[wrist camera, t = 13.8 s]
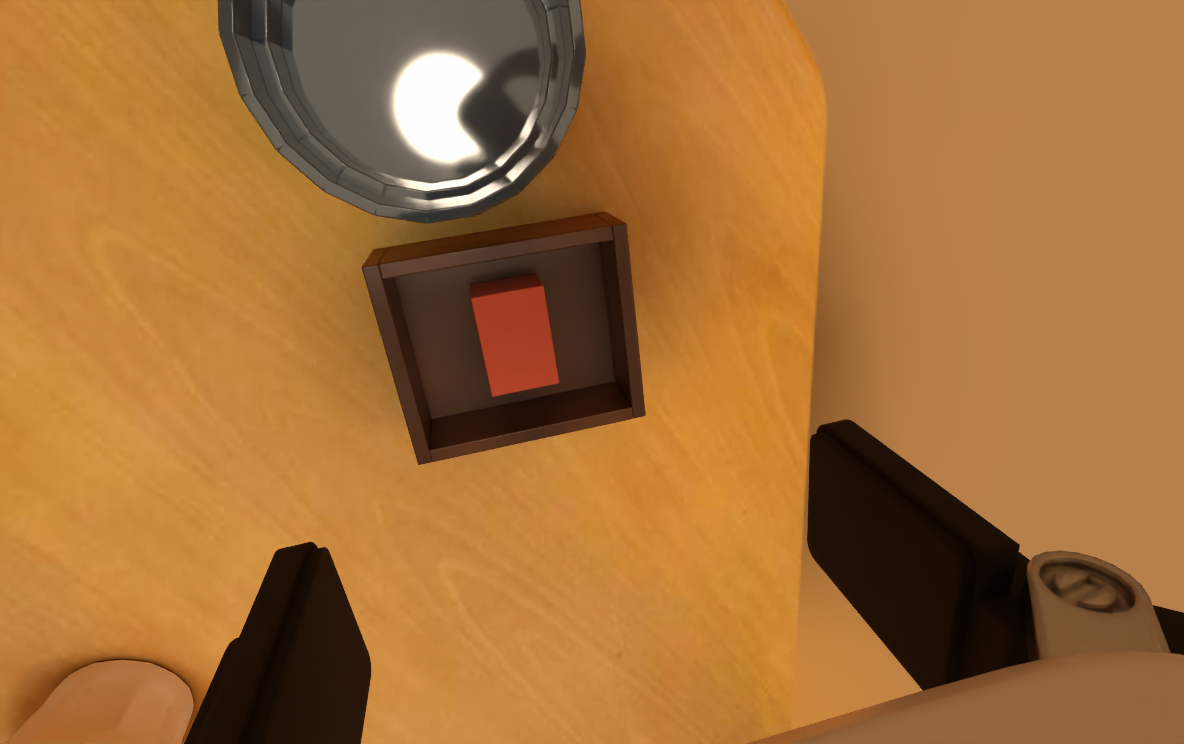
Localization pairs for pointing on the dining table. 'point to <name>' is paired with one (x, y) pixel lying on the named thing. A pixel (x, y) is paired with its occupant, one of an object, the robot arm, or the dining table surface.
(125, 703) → the cup
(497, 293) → the block
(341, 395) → the dining table surface
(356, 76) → the bowl
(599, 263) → the holder
